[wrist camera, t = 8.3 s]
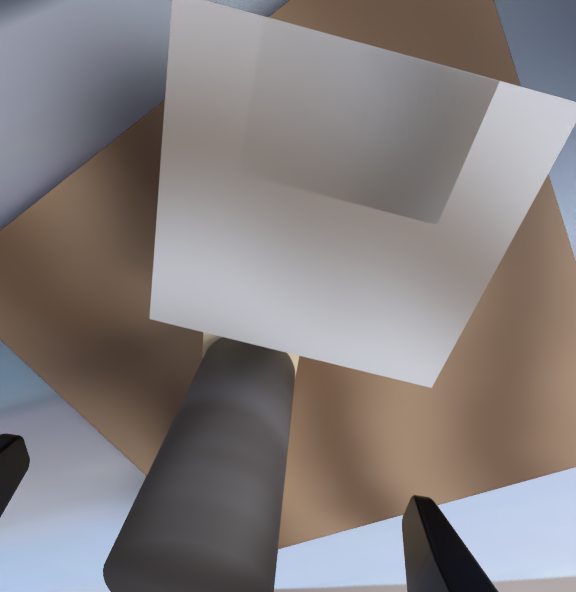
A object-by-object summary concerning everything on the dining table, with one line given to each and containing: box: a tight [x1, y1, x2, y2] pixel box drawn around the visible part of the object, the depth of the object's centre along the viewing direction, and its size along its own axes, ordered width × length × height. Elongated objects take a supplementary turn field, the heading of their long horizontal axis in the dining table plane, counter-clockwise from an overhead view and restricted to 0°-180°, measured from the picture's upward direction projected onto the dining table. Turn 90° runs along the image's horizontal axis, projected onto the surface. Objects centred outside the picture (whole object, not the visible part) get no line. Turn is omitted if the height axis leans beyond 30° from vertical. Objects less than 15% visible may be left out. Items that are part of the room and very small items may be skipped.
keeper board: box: [0, 0, 576, 549], centre depth 13 cm, size 19×19×5 cm
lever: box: [103, 332, 299, 592], centre depth 11 cm, size 18×4×8 cm, turn 173°
